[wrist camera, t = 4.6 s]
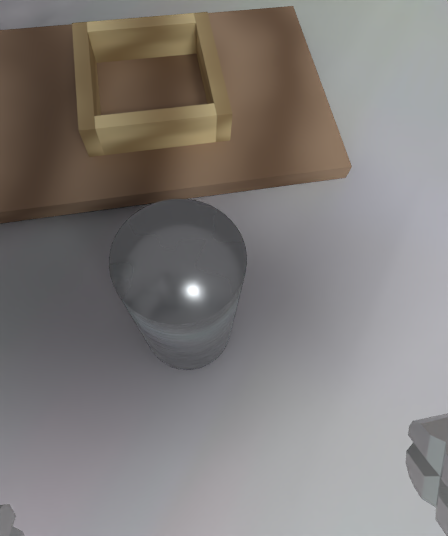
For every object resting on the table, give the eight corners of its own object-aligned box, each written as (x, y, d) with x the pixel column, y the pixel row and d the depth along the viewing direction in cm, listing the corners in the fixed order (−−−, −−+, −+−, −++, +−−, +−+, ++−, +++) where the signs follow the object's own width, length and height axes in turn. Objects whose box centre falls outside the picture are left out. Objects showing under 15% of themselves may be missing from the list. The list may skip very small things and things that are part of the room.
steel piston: (150, 376, 18) (114, 335, 11) (141, 293, 20) (104, 208, 12) (238, 361, 19) (259, 311, 11) (222, 281, 20) (232, 191, 13)
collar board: (-27, 227, 21) (-62, 194, 18) (-17, 46, 26) (-43, -1, 23) (345, 177, 23) (365, 141, 20) (290, 20, 28) (299, -26, 25)
